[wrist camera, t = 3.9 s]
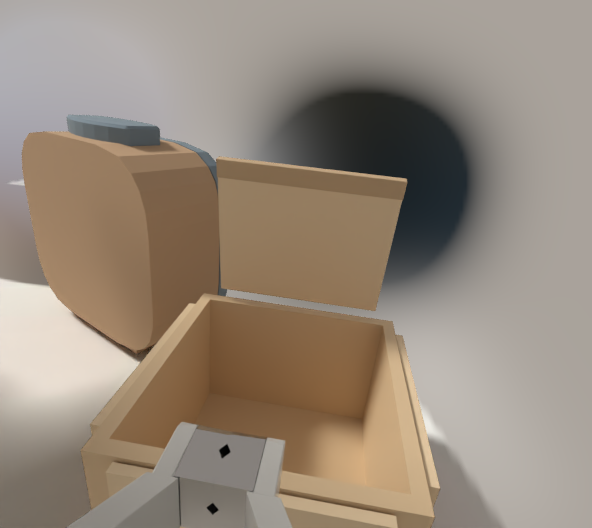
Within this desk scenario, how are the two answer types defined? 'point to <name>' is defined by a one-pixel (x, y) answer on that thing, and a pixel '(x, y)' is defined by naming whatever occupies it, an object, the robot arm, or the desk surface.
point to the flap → (305, 231)
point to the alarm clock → (123, 224)
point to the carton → (281, 410)
